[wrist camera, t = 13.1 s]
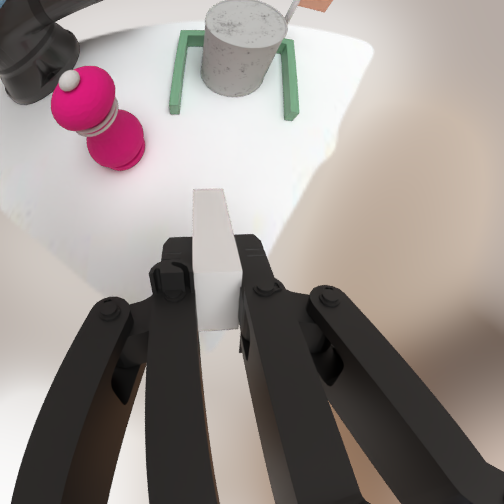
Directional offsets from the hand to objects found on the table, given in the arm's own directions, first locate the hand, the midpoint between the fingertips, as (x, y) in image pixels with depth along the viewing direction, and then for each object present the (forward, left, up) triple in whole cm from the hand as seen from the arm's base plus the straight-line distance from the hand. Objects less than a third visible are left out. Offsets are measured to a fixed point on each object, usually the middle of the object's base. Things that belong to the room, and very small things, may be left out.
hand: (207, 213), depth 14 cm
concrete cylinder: (+4, +24, -22) cm, 33 cm away
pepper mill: (-11, +11, -22) cm, 27 cm away
